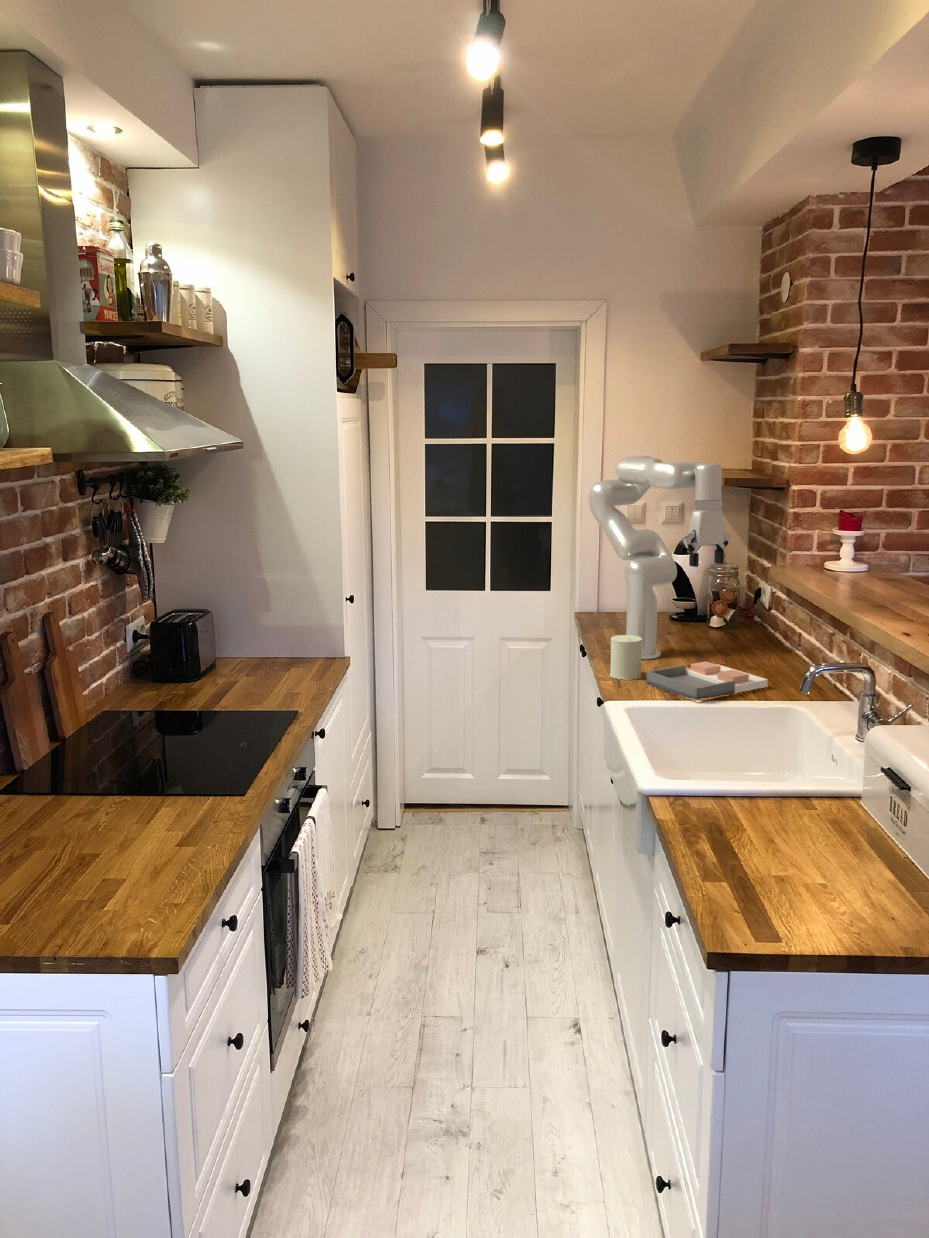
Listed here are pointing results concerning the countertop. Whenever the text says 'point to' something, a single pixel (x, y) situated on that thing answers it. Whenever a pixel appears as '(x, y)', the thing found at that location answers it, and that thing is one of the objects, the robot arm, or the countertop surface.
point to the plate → (739, 687)
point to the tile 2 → (733, 676)
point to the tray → (687, 683)
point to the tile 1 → (705, 668)
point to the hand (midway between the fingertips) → (706, 564)
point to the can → (626, 657)
